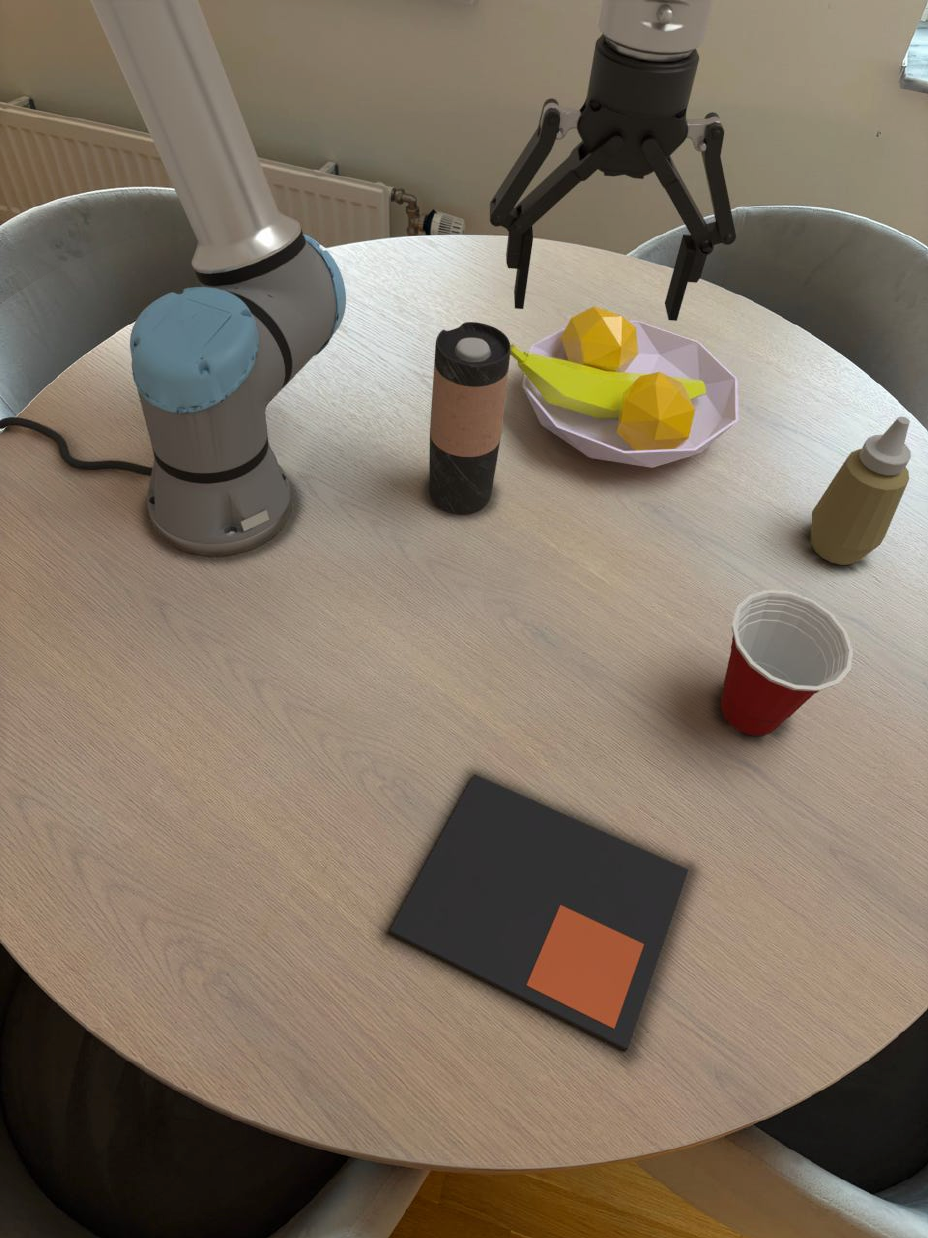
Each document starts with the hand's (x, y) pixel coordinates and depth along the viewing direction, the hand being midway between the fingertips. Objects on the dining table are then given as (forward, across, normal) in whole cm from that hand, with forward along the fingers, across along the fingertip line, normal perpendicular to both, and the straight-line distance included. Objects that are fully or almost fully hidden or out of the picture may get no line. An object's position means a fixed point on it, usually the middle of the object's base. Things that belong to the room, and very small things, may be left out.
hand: (594, 306), depth 84 cm
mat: (+28, -2, -43) cm, 52 cm away
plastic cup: (+28, +19, -23) cm, 41 cm away
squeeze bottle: (+28, +33, 0) cm, 43 cm away
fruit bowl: (+28, +9, +21) cm, 36 cm away
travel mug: (+28, -10, +5) cm, 31 cm away
